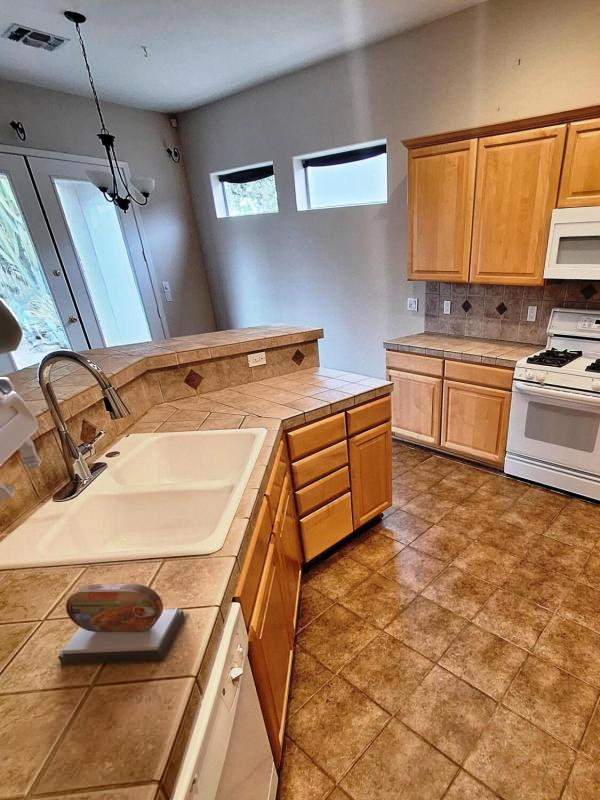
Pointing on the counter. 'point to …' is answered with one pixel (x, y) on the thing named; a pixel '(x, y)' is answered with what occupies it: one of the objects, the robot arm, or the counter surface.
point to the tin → (115, 608)
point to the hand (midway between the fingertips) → (23, 480)
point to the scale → (123, 643)
